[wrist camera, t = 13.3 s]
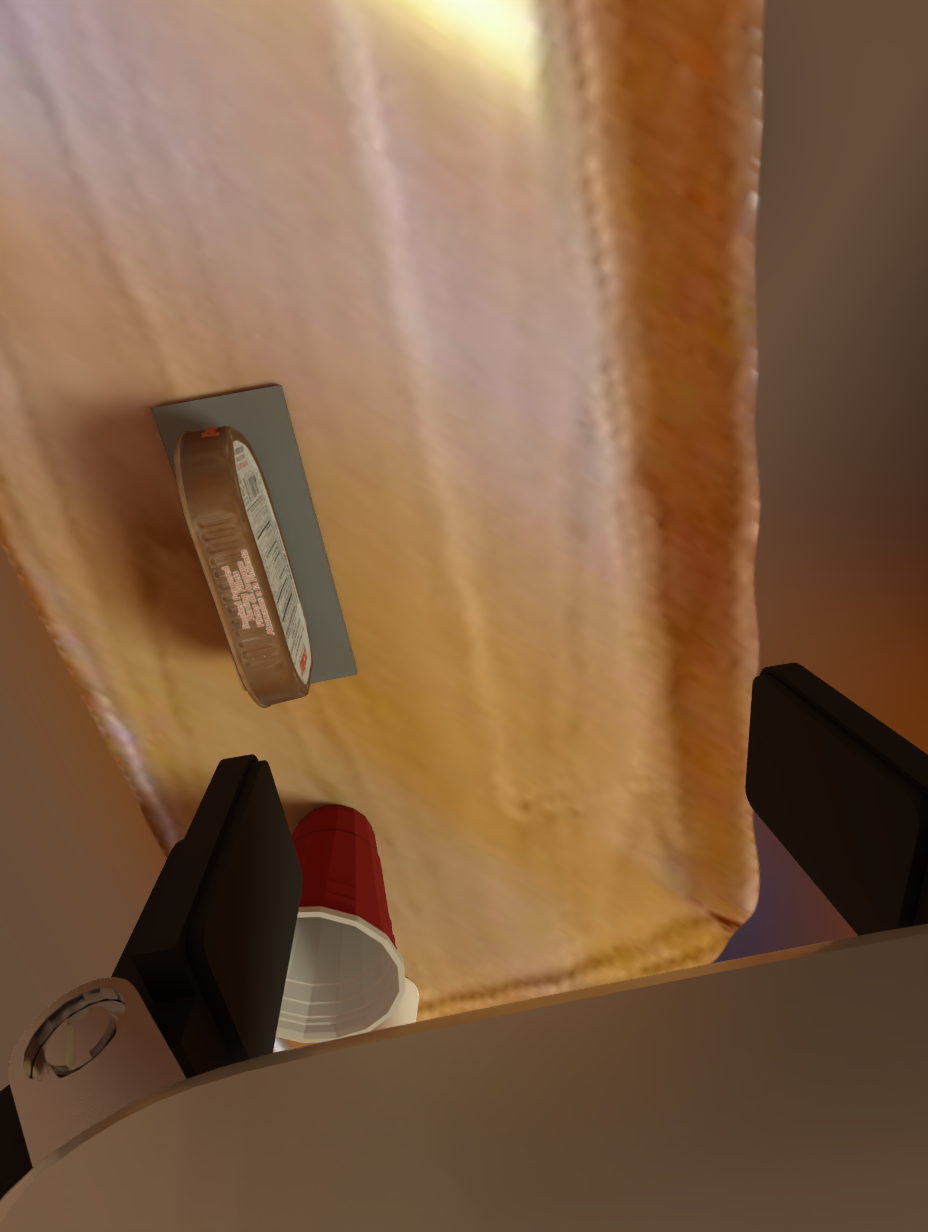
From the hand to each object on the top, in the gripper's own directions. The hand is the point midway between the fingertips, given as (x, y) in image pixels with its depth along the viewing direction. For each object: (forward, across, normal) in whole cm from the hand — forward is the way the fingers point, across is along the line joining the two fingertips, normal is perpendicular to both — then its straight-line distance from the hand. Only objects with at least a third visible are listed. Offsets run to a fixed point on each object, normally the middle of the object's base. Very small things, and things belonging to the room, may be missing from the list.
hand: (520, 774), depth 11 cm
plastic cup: (+27, +11, +24) cm, 37 cm away
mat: (+27, +11, +2) cm, 29 cm away
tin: (+26, +10, +1) cm, 28 cm away
